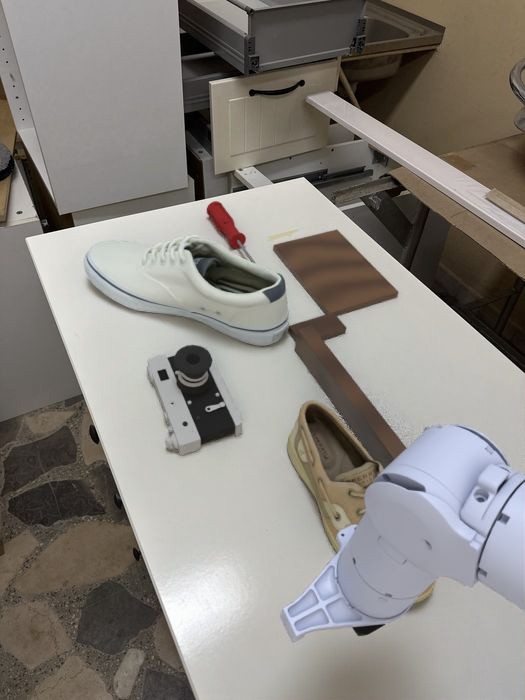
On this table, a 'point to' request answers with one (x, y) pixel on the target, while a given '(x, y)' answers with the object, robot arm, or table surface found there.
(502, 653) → the table surface
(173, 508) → the table surface
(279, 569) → the table surface
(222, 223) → the screwdriver
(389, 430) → the wooden paddle board
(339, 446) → the boat shoe
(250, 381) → the table surface
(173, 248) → the sneaker
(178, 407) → the camera
